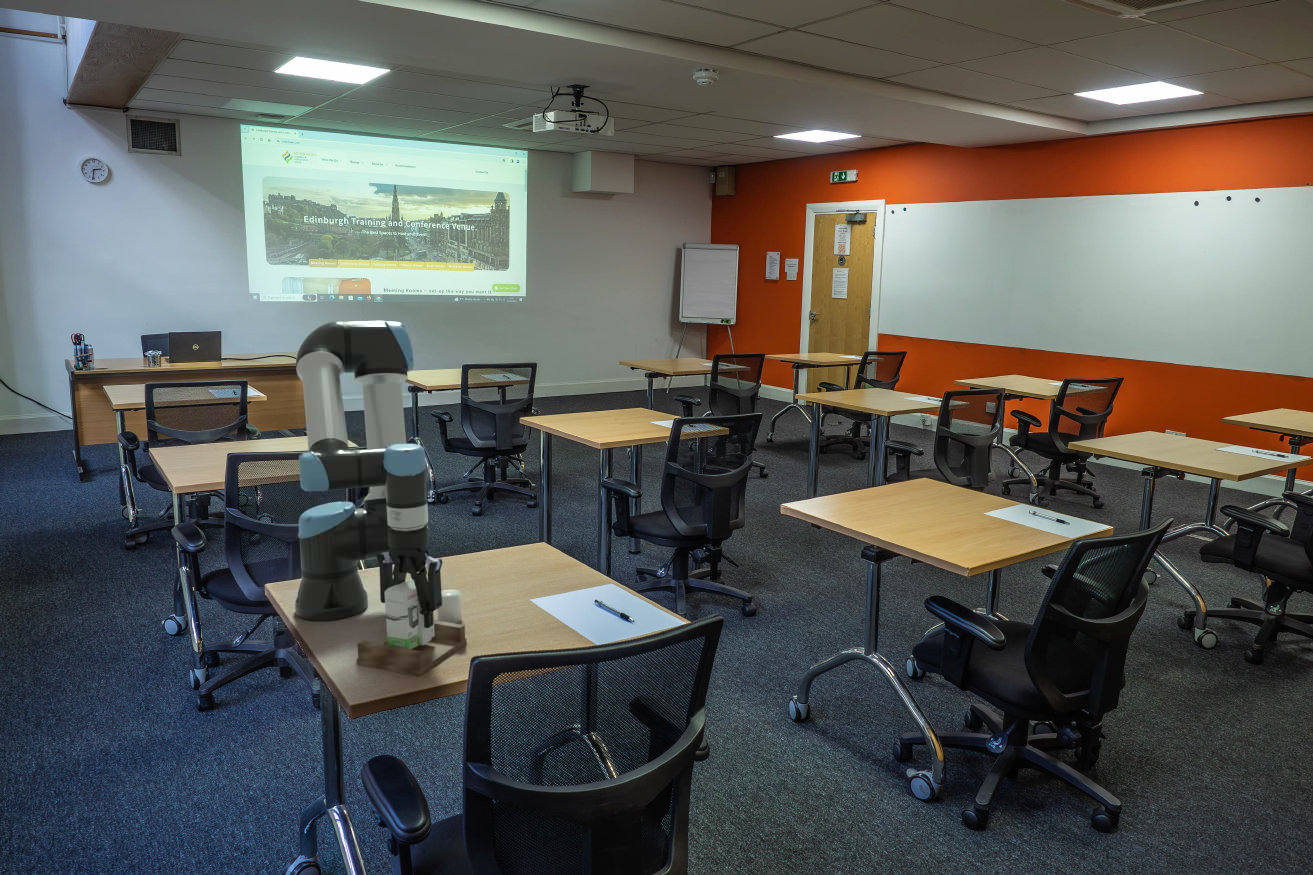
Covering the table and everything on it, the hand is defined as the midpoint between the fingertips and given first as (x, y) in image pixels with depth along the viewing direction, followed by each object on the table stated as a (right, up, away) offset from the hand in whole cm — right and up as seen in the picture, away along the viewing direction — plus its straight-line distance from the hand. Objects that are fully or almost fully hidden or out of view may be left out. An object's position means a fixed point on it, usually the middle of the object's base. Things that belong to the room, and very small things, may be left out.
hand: (412, 639), depth 165 cm
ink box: (0, -1, 0) cm, 1 cm away
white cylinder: (+3, 0, +17) cm, 17 cm away
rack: (0, -3, 0) cm, 3 cm away
